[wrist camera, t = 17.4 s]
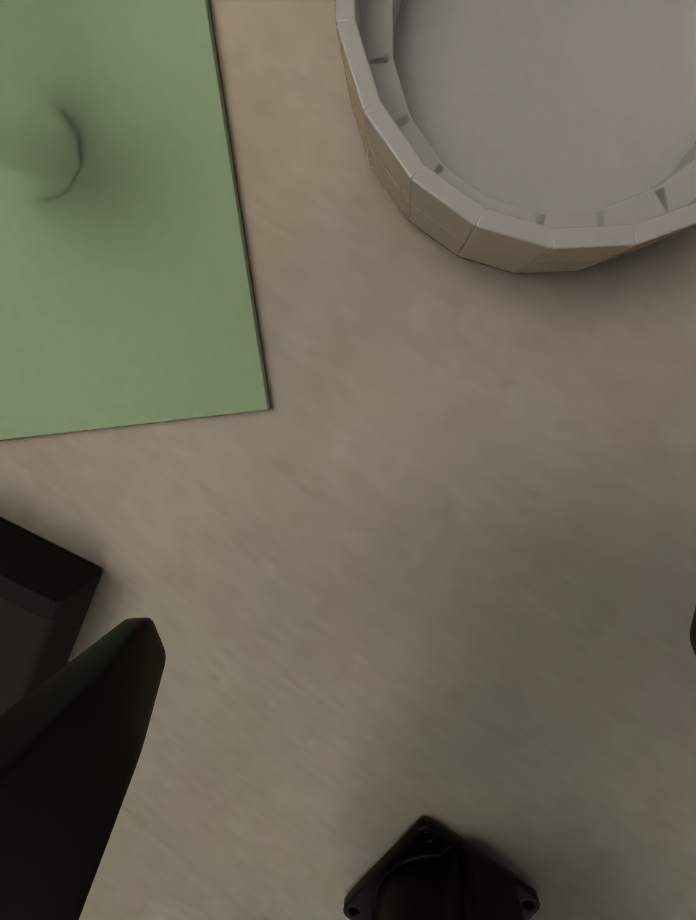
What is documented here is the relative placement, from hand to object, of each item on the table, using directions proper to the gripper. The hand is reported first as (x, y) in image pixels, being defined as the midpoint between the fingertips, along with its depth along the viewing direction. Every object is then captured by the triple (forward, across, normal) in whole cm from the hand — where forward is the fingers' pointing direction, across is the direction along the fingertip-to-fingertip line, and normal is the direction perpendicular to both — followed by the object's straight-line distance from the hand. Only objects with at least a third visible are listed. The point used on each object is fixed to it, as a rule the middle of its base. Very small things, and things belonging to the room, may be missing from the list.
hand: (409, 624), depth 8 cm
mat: (+14, +12, -9) cm, 20 cm away
